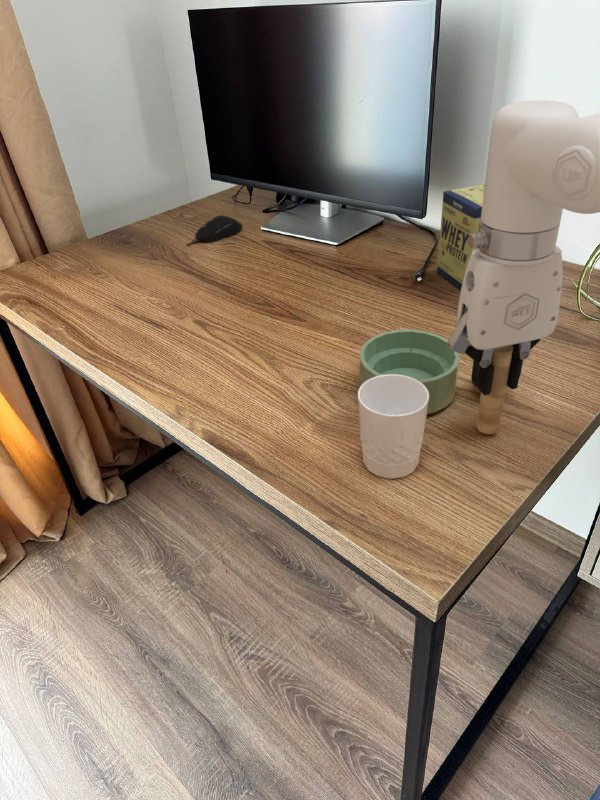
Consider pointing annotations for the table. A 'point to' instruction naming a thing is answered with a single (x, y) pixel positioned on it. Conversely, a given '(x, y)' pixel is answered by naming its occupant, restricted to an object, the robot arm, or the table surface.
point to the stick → (495, 392)
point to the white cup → (392, 424)
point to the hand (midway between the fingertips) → (494, 384)
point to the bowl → (413, 362)
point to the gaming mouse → (217, 229)
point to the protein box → (458, 231)
